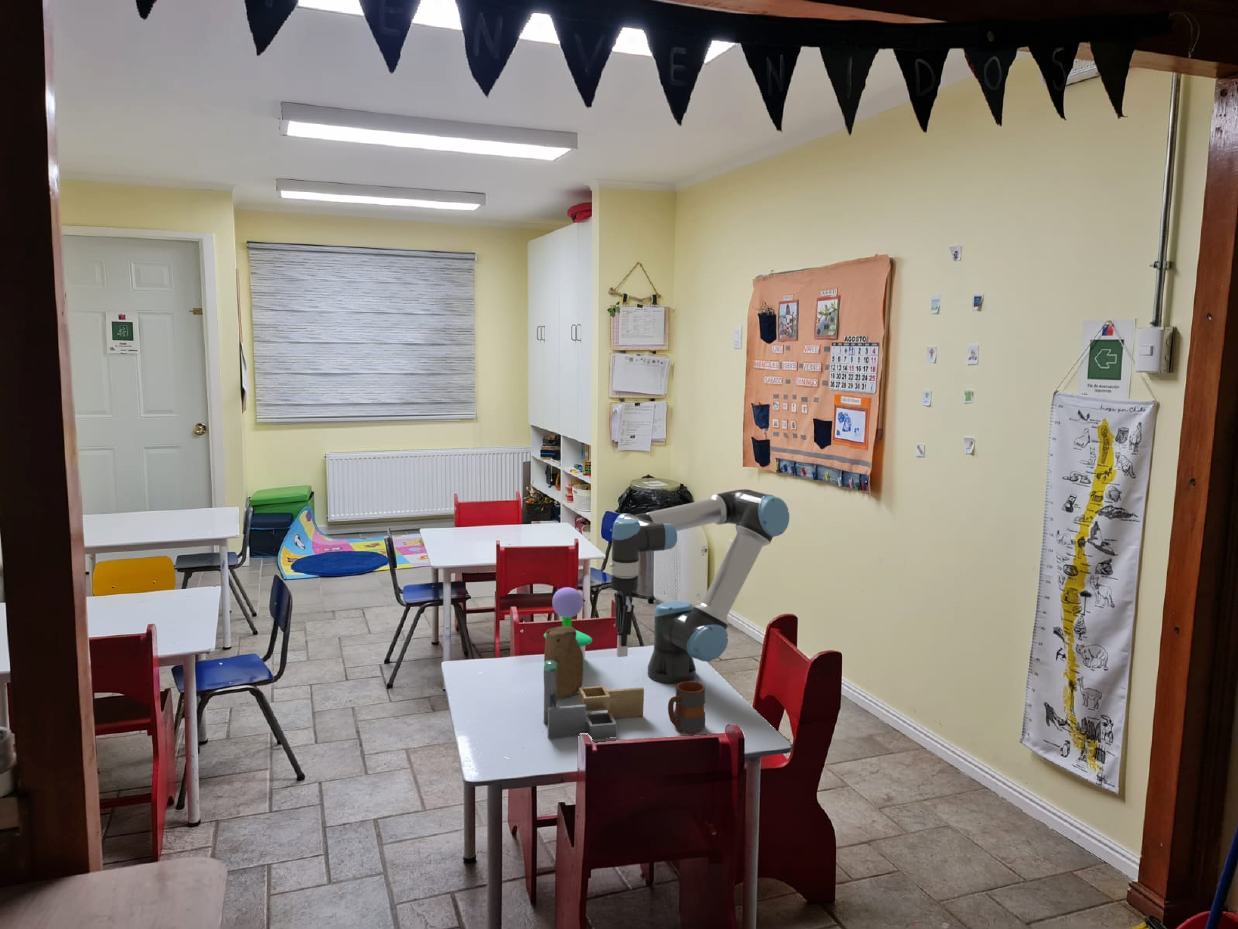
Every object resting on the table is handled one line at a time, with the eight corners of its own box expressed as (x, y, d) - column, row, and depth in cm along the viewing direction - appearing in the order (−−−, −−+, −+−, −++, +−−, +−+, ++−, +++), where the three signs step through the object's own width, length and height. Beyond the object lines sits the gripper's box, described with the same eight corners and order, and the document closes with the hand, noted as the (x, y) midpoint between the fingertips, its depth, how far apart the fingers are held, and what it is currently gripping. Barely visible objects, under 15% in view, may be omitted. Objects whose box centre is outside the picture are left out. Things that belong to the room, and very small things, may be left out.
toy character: (598, 665, 276) (599, 589, 272) (567, 674, 268) (568, 596, 264) (568, 651, 288) (570, 578, 284) (538, 659, 280) (539, 585, 276)
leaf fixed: (610, 726, 233) (610, 697, 232) (616, 738, 226) (617, 708, 225) (545, 731, 229) (546, 702, 228) (550, 744, 222) (550, 714, 221)
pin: (555, 719, 236) (555, 660, 234) (557, 724, 233) (558, 664, 231) (542, 720, 236) (543, 660, 233) (544, 725, 232) (545, 665, 230)
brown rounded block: (551, 701, 248) (551, 635, 245) (541, 691, 254) (542, 626, 251) (585, 695, 252) (586, 630, 250) (575, 686, 259) (576, 622, 256)
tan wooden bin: (639, 709, 243) (639, 683, 242) (646, 720, 236) (646, 693, 235) (578, 714, 239) (578, 687, 238) (583, 725, 232) (584, 698, 231)
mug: (657, 728, 232) (658, 687, 230) (690, 717, 239) (691, 677, 238) (678, 741, 225) (680, 698, 224) (711, 729, 233) (713, 688, 231)
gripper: (606, 569, 245) (604, 648, 248) (617, 581, 232) (614, 665, 235) (631, 568, 246) (629, 647, 250) (644, 580, 234) (641, 663, 237)
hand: (622, 655), depth 243 cm, fingers closed
